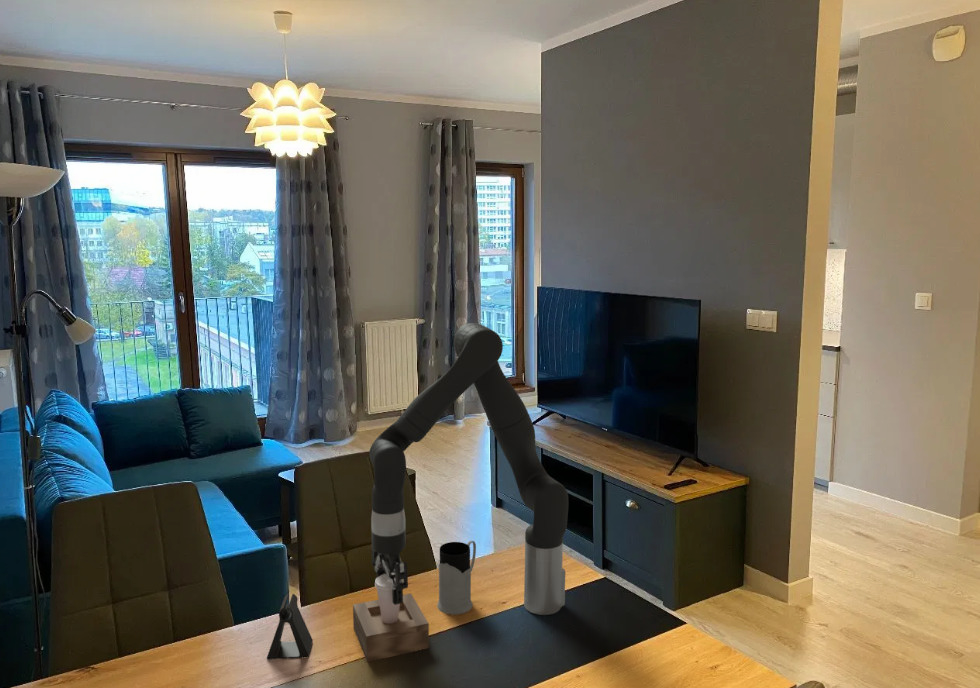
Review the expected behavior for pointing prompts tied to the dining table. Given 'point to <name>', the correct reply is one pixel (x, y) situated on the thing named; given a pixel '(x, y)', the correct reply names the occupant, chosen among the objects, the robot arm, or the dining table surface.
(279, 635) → the phone stand
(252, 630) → the dining table surface
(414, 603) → the walnut tray
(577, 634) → the dining table surface
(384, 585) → the smoothie
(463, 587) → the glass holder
